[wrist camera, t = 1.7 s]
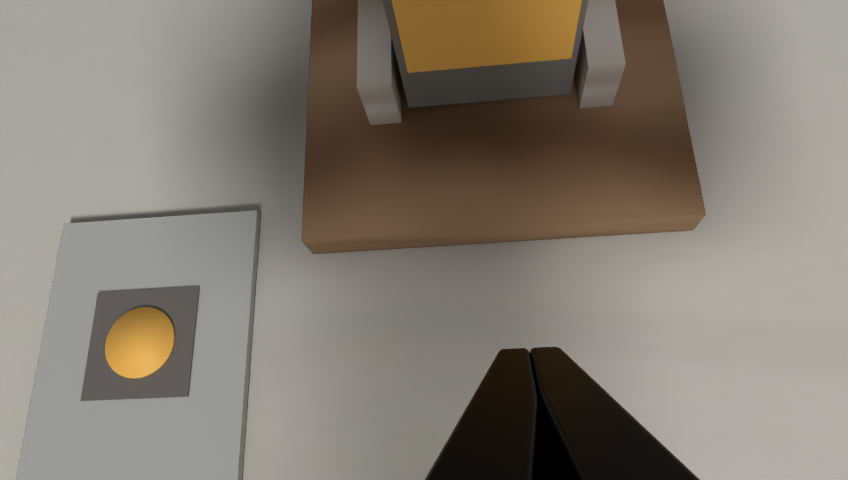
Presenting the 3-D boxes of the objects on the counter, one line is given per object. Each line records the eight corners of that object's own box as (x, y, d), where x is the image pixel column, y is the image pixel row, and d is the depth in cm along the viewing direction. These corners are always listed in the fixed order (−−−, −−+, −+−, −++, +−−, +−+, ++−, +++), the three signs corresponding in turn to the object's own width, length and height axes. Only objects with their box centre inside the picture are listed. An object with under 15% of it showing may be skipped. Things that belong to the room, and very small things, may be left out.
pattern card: (241, 486, 21) (234, 486, 20) (21, 492, 22) (8, 492, 21) (260, 214, 25) (255, 208, 24) (70, 227, 25) (60, 221, 25)
